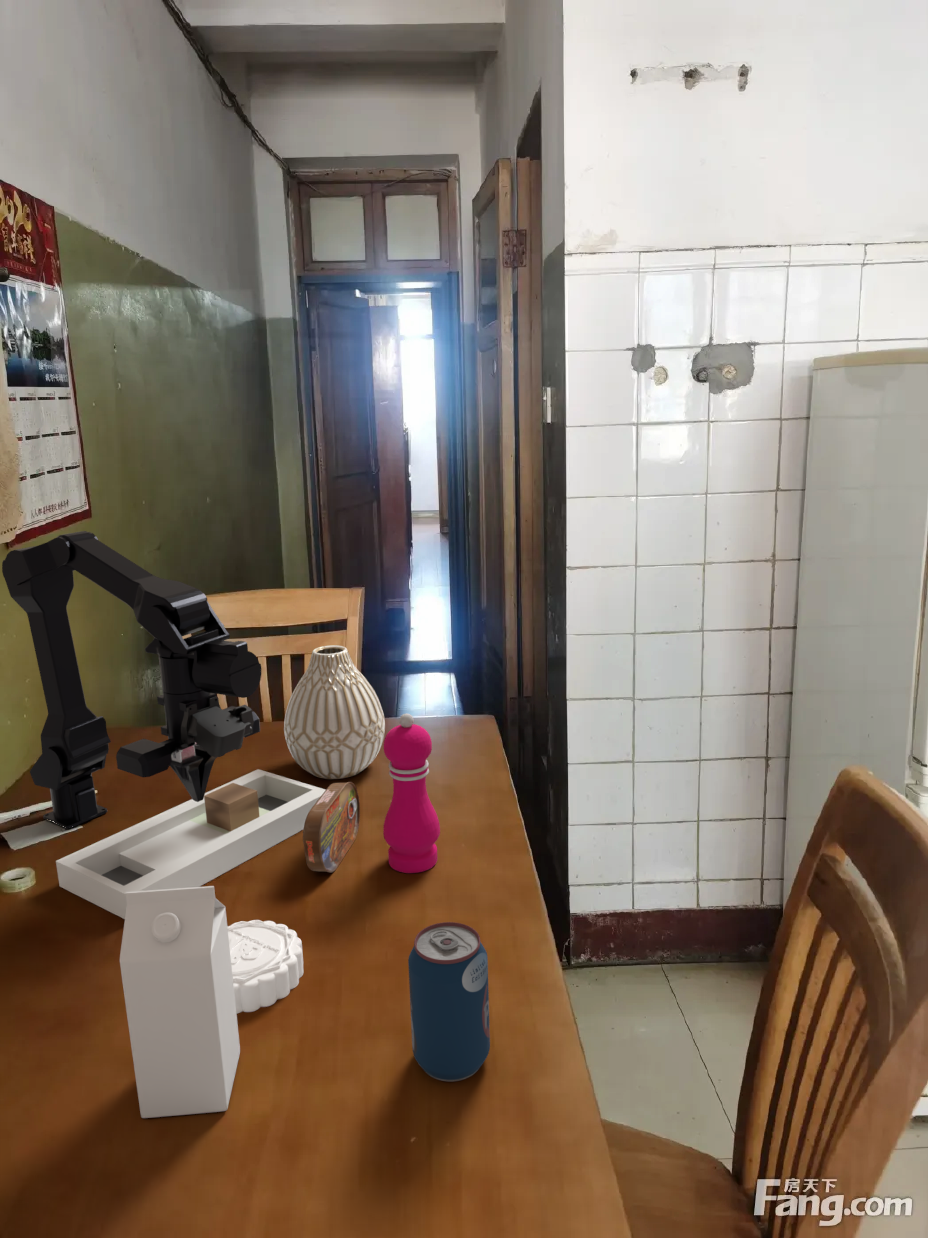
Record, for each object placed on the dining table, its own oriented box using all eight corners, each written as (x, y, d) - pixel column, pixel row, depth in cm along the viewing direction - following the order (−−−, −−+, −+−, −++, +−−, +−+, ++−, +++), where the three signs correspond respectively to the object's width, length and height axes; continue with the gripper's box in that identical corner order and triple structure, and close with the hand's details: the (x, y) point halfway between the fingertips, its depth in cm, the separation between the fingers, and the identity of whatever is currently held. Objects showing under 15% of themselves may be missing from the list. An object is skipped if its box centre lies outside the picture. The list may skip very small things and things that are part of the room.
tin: (325, 885, 110) (321, 822, 108) (301, 883, 111) (296, 820, 109) (363, 828, 125) (360, 772, 123) (341, 827, 125) (338, 771, 123)
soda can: (505, 1066, 80) (503, 946, 77) (438, 1099, 76) (433, 975, 73) (463, 1022, 85) (459, 909, 82) (399, 1052, 82) (392, 935, 79)
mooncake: (160, 989, 92) (156, 958, 91) (249, 932, 101) (246, 903, 101) (241, 1033, 85) (237, 1000, 84) (328, 967, 95) (325, 936, 94)
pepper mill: (450, 853, 117) (445, 708, 112) (425, 880, 111) (418, 727, 106) (402, 843, 120) (394, 701, 115) (374, 869, 114) (365, 720, 109)
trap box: (59, 886, 112) (55, 861, 111) (260, 790, 138) (258, 769, 137) (132, 923, 103) (129, 896, 102) (331, 813, 129) (330, 791, 128)
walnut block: (206, 822, 123) (204, 795, 122) (235, 809, 127) (232, 782, 126) (231, 831, 120) (228, 804, 119) (259, 817, 124) (257, 790, 123)
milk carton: (161, 1060, 82) (137, 870, 77) (240, 1053, 82) (221, 865, 78) (140, 1120, 75) (112, 917, 70) (227, 1113, 75) (205, 910, 71)
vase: (308, 798, 135) (298, 670, 130) (274, 763, 148) (264, 646, 143) (403, 774, 142) (398, 652, 137) (363, 743, 156) (356, 631, 151)
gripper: (164, 720, 103) (178, 845, 106) (284, 677, 117) (293, 788, 121) (106, 704, 109) (122, 822, 113) (227, 665, 124) (237, 771, 128)
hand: (198, 800), depth 118 cm, fingers closed
